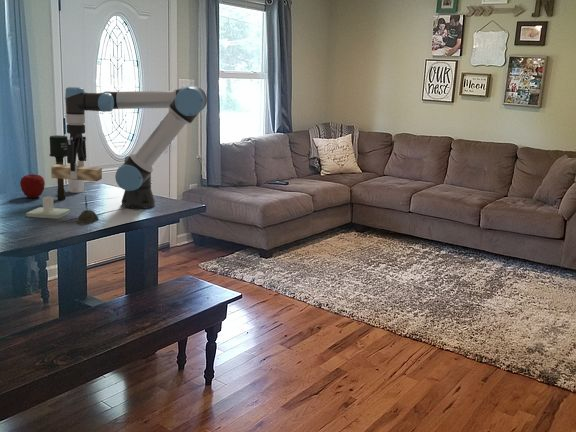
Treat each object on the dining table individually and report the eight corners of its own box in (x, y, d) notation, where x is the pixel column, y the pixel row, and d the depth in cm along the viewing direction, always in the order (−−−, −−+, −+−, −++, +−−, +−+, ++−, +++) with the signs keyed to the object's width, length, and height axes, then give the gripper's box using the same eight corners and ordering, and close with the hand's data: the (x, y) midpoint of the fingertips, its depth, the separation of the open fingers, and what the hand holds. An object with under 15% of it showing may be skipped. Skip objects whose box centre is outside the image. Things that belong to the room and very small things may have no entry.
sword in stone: (82, 217, 252) (82, 190, 249) (100, 219, 252) (101, 192, 249) (73, 223, 243) (73, 195, 240) (92, 225, 242) (92, 197, 240)
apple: (21, 195, 286) (19, 171, 283) (45, 194, 290) (43, 171, 287) (21, 200, 276) (19, 175, 273) (45, 199, 280) (44, 175, 277)
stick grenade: (64, 202, 277) (61, 137, 270) (48, 200, 279) (44, 136, 271) (74, 198, 285) (72, 136, 278) (58, 197, 287) (55, 134, 279)
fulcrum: (70, 212, 259) (69, 195, 257) (58, 218, 248) (57, 201, 246) (39, 210, 260) (38, 193, 258) (26, 216, 249) (25, 199, 248)
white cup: (64, 191, 298) (63, 172, 296) (75, 189, 305) (75, 170, 303) (77, 193, 295) (76, 174, 293) (88, 191, 302) (87, 171, 300)
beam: (101, 178, 263) (101, 167, 262) (97, 181, 257) (97, 170, 256) (57, 175, 263) (56, 164, 262) (51, 177, 257) (51, 166, 256)
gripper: (77, 121, 264) (79, 172, 270) (56, 125, 245) (58, 180, 251) (93, 122, 263) (95, 173, 269) (73, 126, 245) (75, 181, 250)
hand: (77, 176), depth 260 cm, fingers closed on beam, 6 cm apart
